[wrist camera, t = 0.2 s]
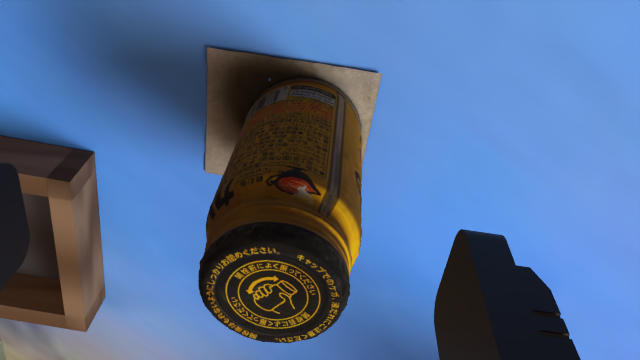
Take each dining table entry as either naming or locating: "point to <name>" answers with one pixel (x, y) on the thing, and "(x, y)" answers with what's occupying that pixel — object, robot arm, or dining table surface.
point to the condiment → (283, 192)
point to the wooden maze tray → (56, 237)
